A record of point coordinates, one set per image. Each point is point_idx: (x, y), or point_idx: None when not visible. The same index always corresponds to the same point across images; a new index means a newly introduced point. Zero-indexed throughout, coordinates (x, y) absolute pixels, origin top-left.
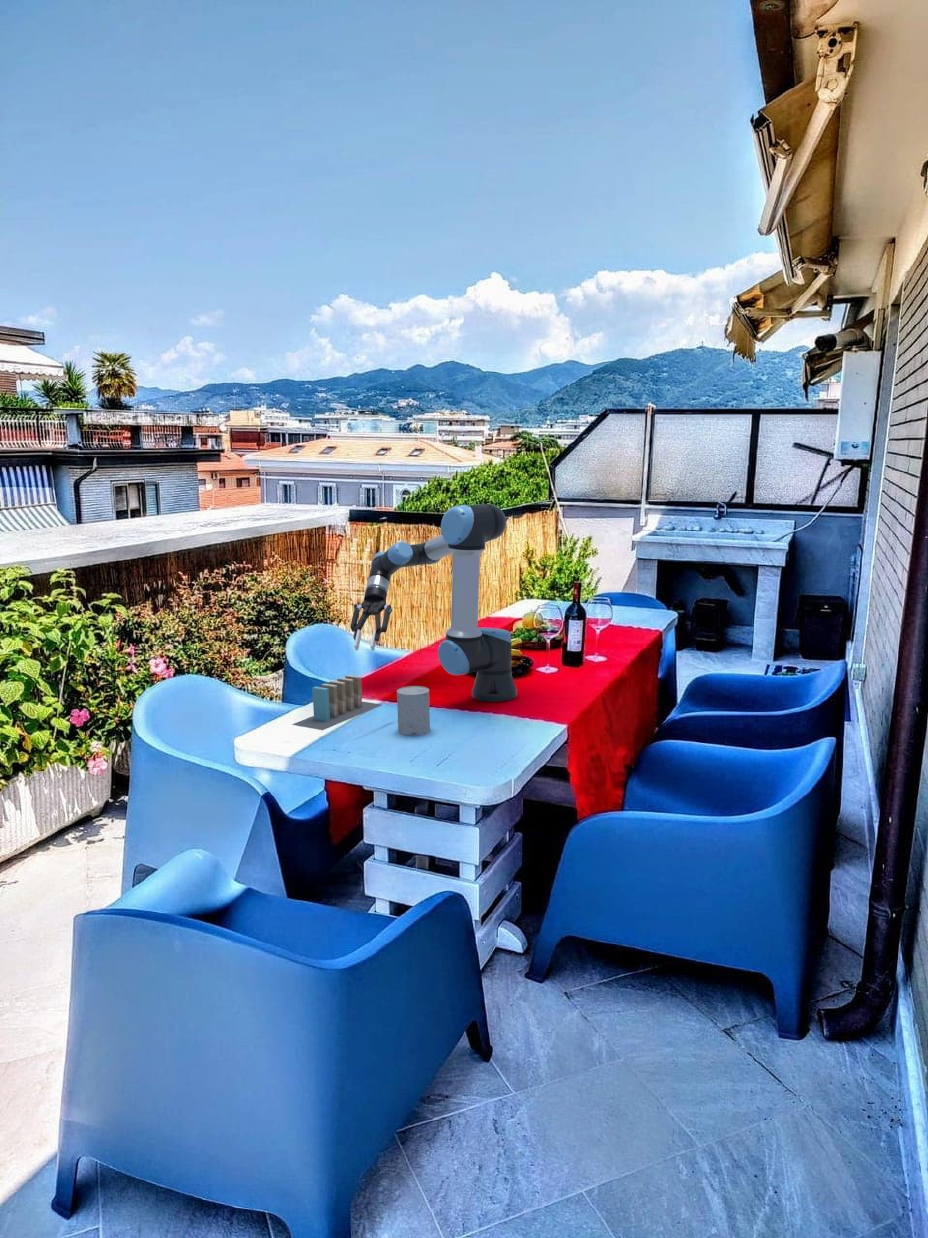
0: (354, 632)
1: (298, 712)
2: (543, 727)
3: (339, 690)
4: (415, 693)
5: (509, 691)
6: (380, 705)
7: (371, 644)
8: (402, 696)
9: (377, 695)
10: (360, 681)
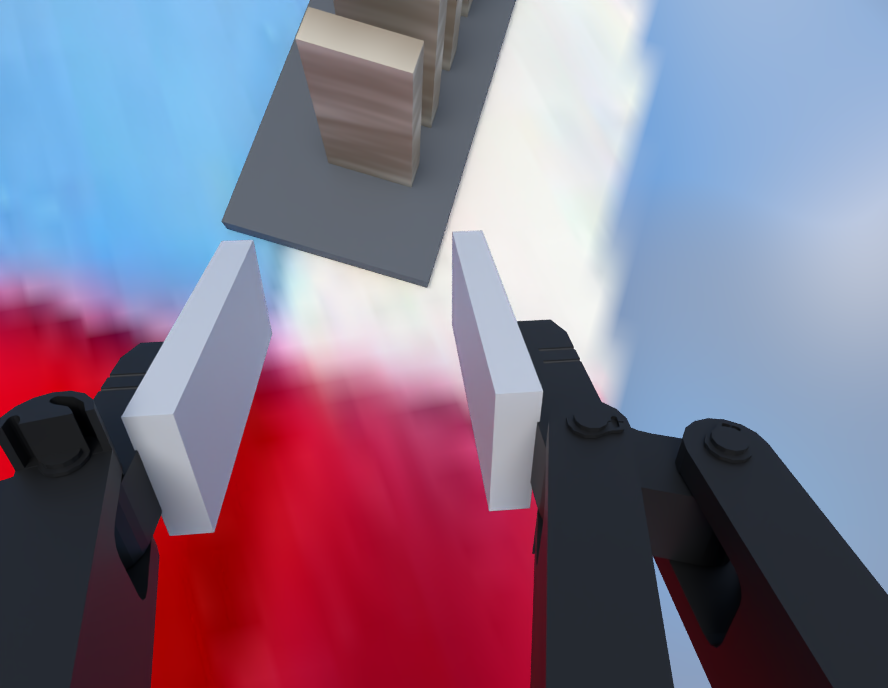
0: (593, 390)
1: (639, 87)
2: None
3: None
4: None
5: None
6: (231, 204)
7: (232, 250)
8: None
9: (342, 471)
10: (304, 58)
